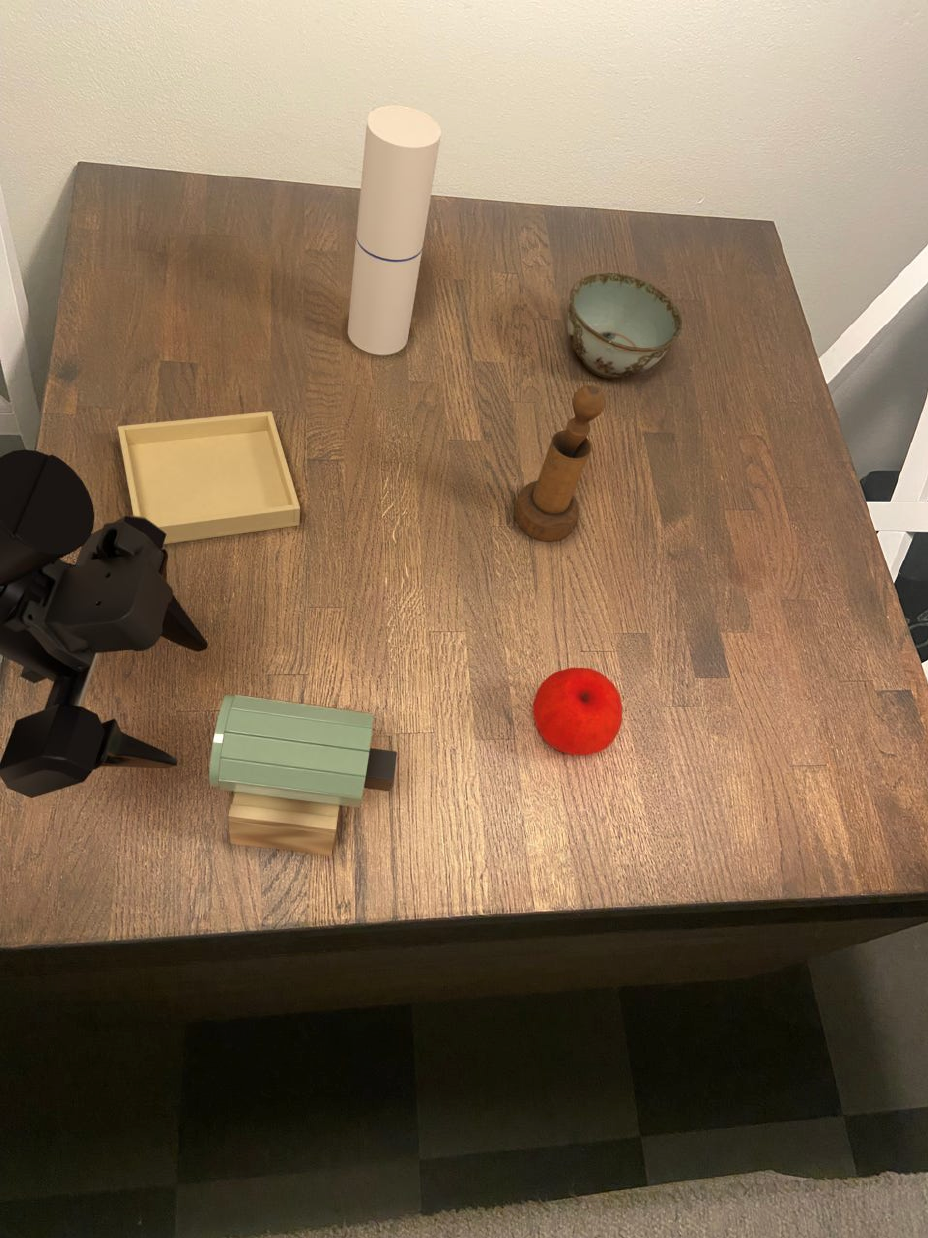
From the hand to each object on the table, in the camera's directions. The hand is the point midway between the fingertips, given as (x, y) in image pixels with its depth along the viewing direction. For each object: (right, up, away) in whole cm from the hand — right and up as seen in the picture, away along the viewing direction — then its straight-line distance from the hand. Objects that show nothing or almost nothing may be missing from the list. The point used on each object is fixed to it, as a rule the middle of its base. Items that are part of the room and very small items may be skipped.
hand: (189, 704), depth 64 cm
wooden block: (+5, -9, +12) cm, 15 cm away
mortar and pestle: (+28, +17, +34) cm, 46 cm away
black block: (+11, -5, +7) cm, 14 cm away
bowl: (+37, +38, +49) cm, 72 cm away
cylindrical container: (+9, +40, +45) cm, 60 cm away
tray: (-6, +19, +28) cm, 34 cm away
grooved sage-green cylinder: (+6, -4, +5) cm, 9 cm away
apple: (+28, -4, +20) cm, 35 cm away
